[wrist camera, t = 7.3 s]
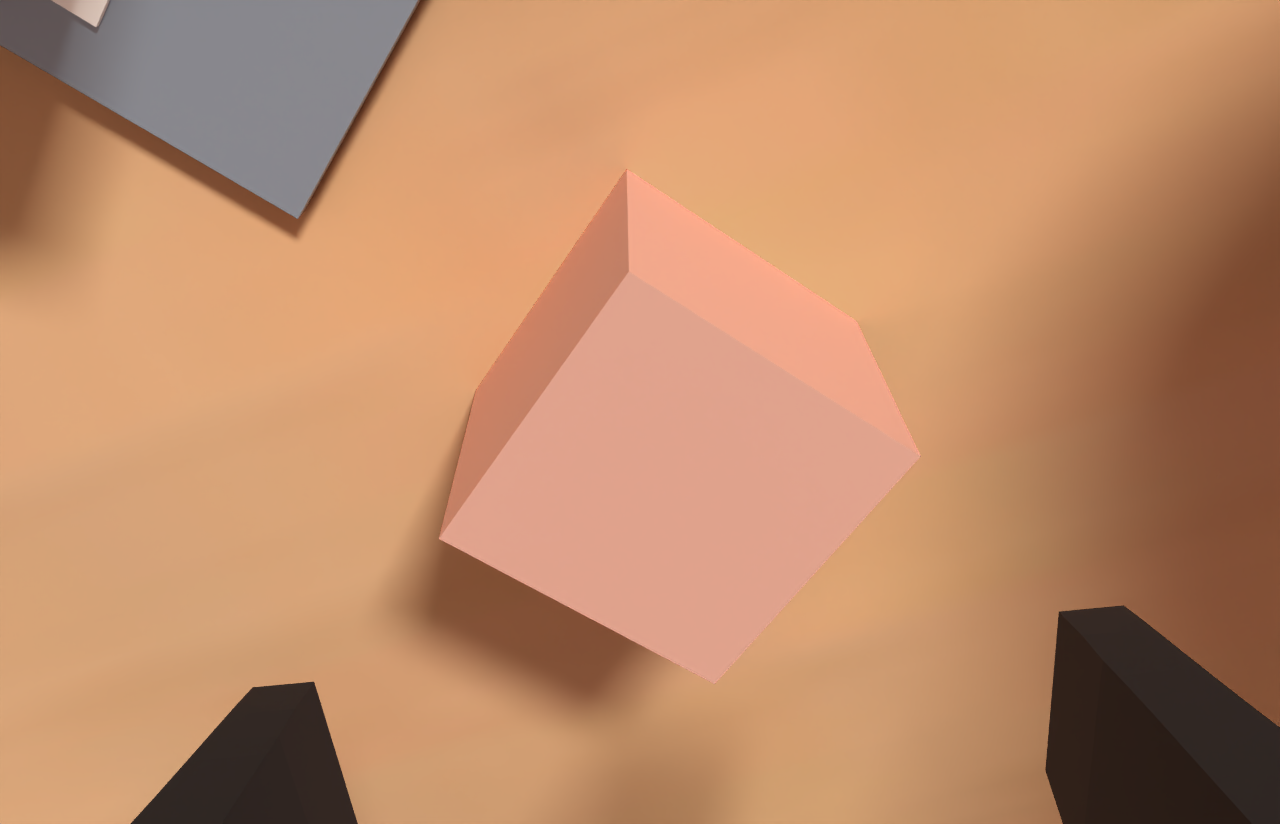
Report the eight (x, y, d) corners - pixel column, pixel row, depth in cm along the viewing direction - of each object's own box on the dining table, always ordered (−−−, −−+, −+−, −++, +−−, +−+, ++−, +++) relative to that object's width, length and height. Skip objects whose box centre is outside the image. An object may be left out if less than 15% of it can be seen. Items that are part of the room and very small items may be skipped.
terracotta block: (855, 319, 18) (920, 456, 14) (695, 513, 20) (714, 684, 16) (626, 167, 17) (628, 271, 13) (476, 387, 19) (439, 538, 15)
